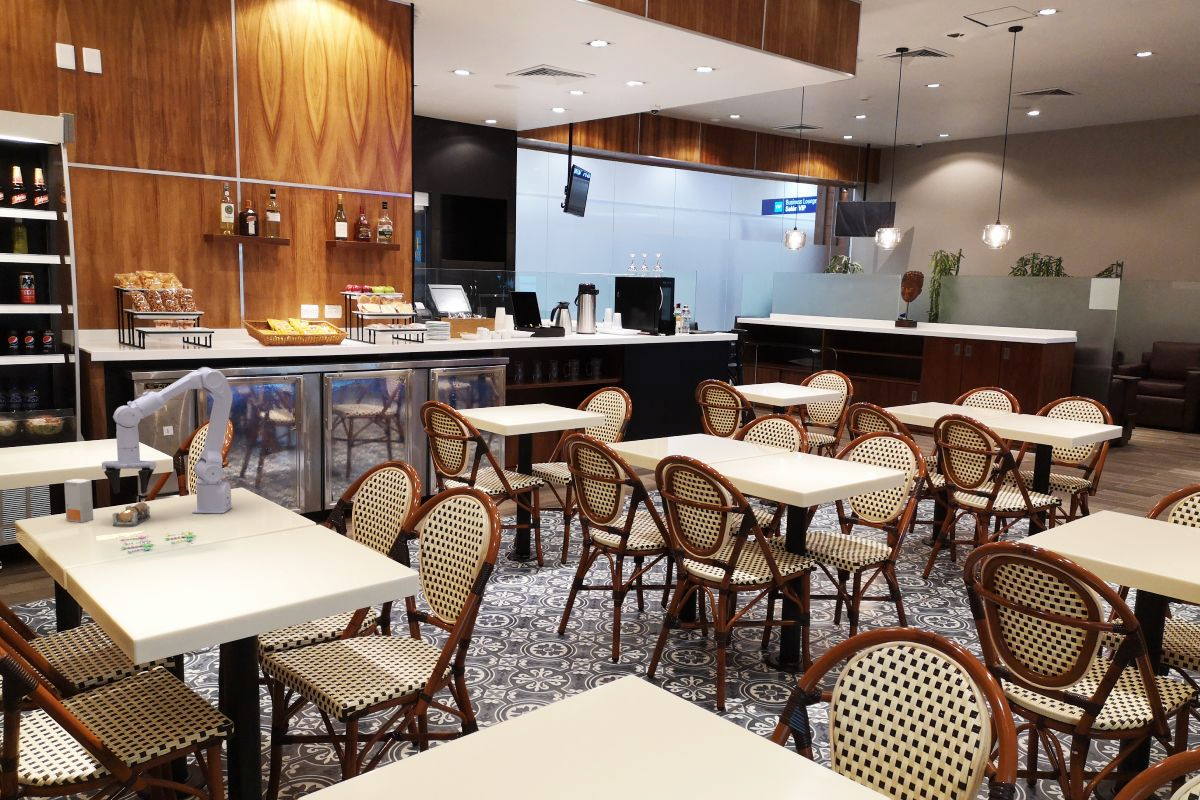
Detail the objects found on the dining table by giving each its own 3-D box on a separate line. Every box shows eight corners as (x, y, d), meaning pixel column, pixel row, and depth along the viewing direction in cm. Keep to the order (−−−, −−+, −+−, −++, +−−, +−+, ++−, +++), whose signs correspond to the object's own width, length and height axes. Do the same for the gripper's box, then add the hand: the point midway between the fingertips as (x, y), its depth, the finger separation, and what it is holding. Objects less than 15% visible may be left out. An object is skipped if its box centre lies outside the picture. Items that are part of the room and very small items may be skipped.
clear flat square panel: (212, 523, 264) (212, 518, 264) (232, 552, 239) (232, 547, 239) (95, 537, 248) (95, 532, 248) (104, 569, 223) (103, 564, 223)
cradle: (150, 517, 269) (149, 505, 268) (135, 526, 259) (134, 514, 258) (128, 517, 268) (128, 505, 268) (113, 526, 258) (112, 514, 258)
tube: (135, 510, 269) (138, 500, 269) (146, 514, 269) (149, 504, 269) (116, 521, 257) (119, 510, 257) (127, 524, 258) (130, 514, 257)
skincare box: (65, 521, 263) (63, 481, 261) (77, 517, 267) (75, 478, 265) (82, 523, 261) (79, 482, 260) (94, 519, 265) (92, 479, 264)
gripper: (95, 449, 257) (98, 496, 259) (148, 449, 258) (150, 496, 260) (107, 445, 264) (109, 490, 266) (158, 445, 265) (160, 490, 267)
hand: (130, 492), depth 263 cm, fingers open, 7 cm apart
